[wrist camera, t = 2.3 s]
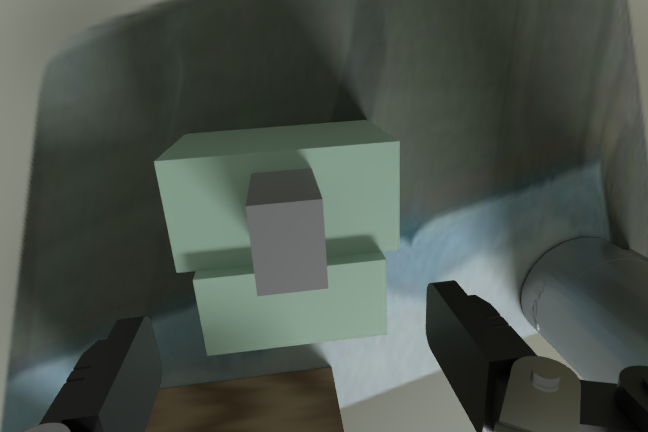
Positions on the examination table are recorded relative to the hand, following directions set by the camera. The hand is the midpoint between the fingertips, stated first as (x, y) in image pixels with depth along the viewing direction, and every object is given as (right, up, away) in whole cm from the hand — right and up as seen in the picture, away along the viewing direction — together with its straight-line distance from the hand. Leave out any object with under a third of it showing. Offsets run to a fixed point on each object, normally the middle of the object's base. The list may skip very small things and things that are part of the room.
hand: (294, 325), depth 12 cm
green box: (-2, +4, +18) cm, 18 cm away
